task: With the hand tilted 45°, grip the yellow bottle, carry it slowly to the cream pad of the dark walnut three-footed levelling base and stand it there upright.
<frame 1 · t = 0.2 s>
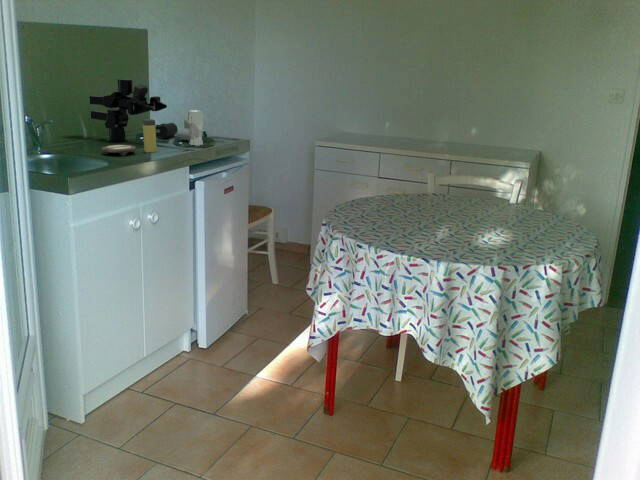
hand: (159, 107, 275), 17 cm above the worktop, tool horizontal, fingers open, 9 cm apart
air freshener: (191, 141, 297), on the worktop
beer glass: (196, 145, 285), on the worktop
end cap: (166, 138, 304), on the worktop
levelling base: (119, 153, 260), on the worktop
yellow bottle: (150, 151, 267), on the worktop
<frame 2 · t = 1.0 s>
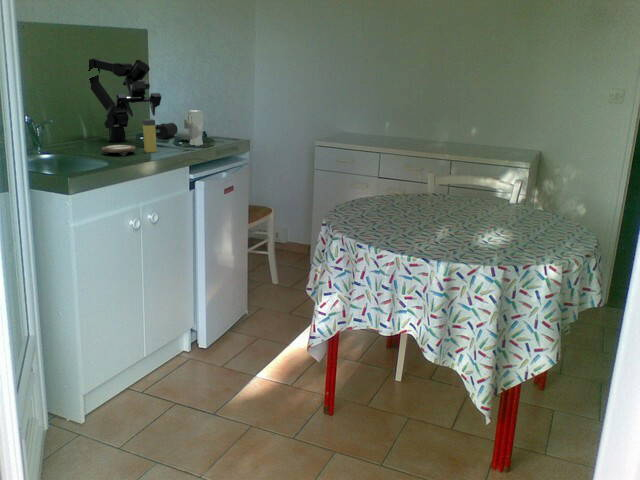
hand: (143, 115, 269), 14 cm above the worktop, tool tilted 45°, fingers open, 9 cm apart
nothing on the worktop moved.
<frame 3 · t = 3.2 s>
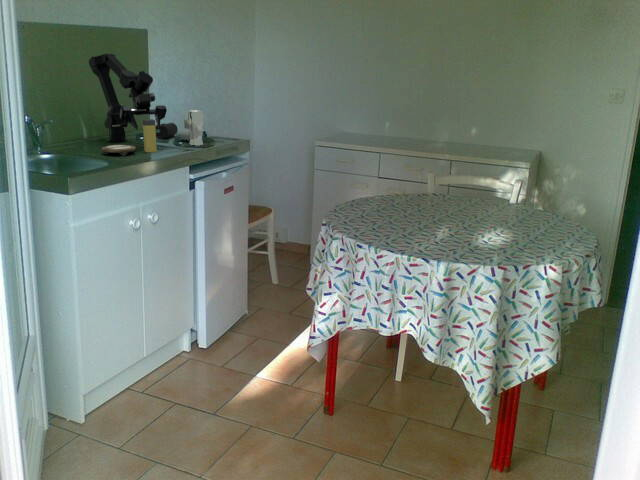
hand: (148, 128, 265), 9 cm above the worktop, tool tilted 45°, fingers open, 9 cm apart
nothing on the worktop moved.
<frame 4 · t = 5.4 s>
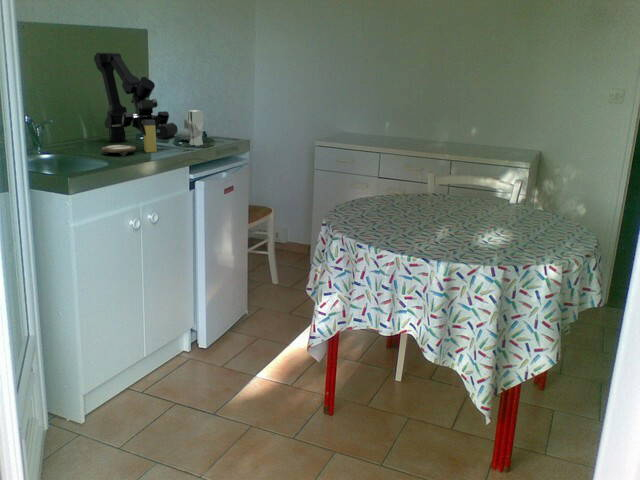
hand: (150, 134, 264), 7 cm above the worktop, tool tilted 45°, fingers closed on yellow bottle, 4 cm apart
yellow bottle: (150, 151, 267), on the worktop, touching gripper
everything else where it was.
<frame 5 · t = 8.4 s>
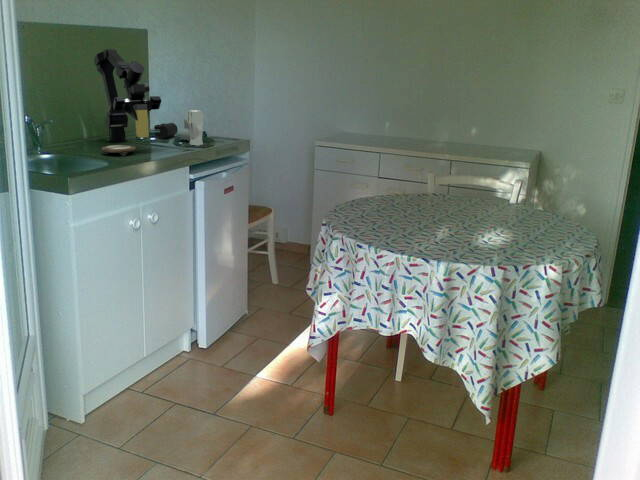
hand: (142, 119, 260), 13 cm above the worktop, tool tilted 45°, fingers closed on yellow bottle, 4 cm apart
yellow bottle: (142, 136, 263), point 6 cm above the worktop, touching gripper
everything else where it was.
when the fingers open (11 cm above the worktop, at t = 11.6 s): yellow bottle drops 1 cm, resting on levelling base.
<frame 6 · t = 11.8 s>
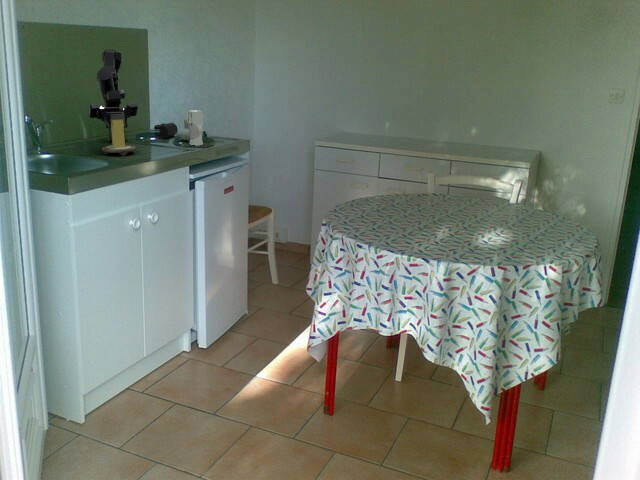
hand: (118, 126, 256), 11 cm above the worktop, tool tilted 45°, fingers open, 6 cm apart
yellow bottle: (118, 146, 259), point 3 cm above the worktop, touching levelling base
everything else where it was.
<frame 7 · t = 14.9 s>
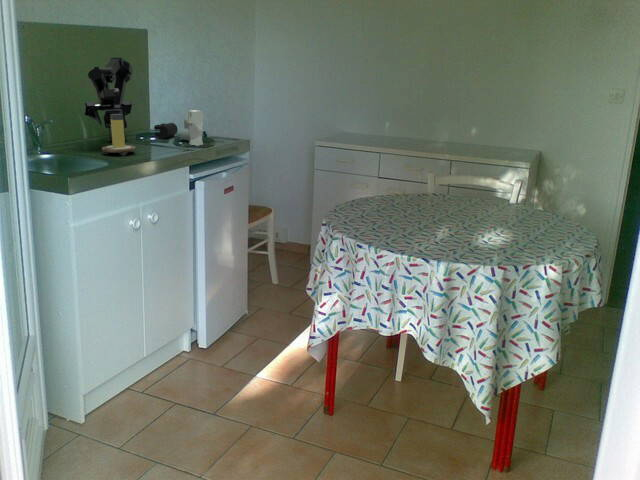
hand: (112, 124, 263), 11 cm above the worktop, tool tilted 45°, fingers open, 9 cm apart
nothing on the worktop moved.
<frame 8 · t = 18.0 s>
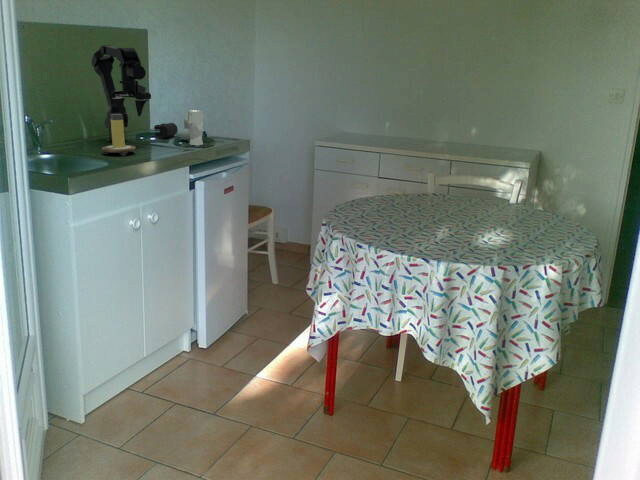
hand: (131, 115, 276), 13 cm above the worktop, tool pointing down, fingers open, 9 cm apart
nothing on the worktop moved.
at the end: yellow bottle 0.0 cm off-centre on the levelling base, point 2.8 cm above the levelling base's base; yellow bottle tilted 0°; the gripper is holding nothing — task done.
